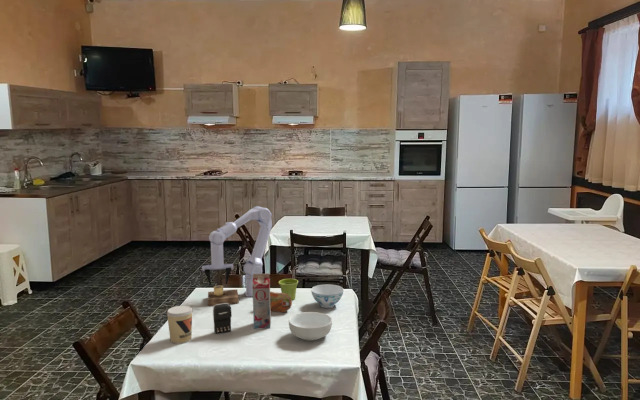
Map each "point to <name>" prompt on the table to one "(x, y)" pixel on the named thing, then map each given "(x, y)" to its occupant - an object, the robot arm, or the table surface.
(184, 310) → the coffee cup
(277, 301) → the tin
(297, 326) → the cereal bowl
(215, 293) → the bushing
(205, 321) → the table surface
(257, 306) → the juice carton
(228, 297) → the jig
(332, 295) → the chinaware
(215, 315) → the battery charger
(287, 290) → the plant pot
